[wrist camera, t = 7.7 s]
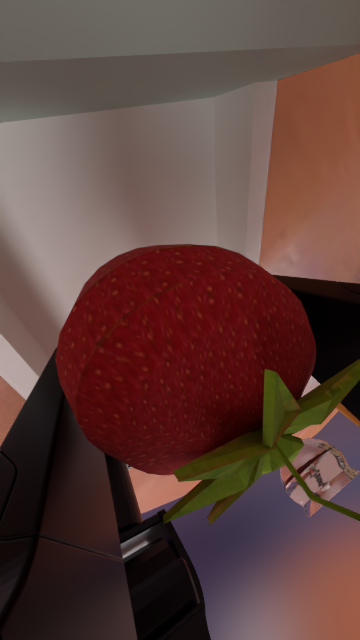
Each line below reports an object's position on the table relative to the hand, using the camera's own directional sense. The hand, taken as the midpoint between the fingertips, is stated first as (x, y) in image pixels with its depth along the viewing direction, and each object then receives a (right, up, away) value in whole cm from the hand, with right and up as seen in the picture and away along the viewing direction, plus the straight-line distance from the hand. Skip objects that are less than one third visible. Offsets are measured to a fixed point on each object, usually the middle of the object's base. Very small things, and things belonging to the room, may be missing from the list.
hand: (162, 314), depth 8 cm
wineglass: (+10, -11, +22) cm, 26 cm away
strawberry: (-1, +1, +2) cm, 3 cm away
